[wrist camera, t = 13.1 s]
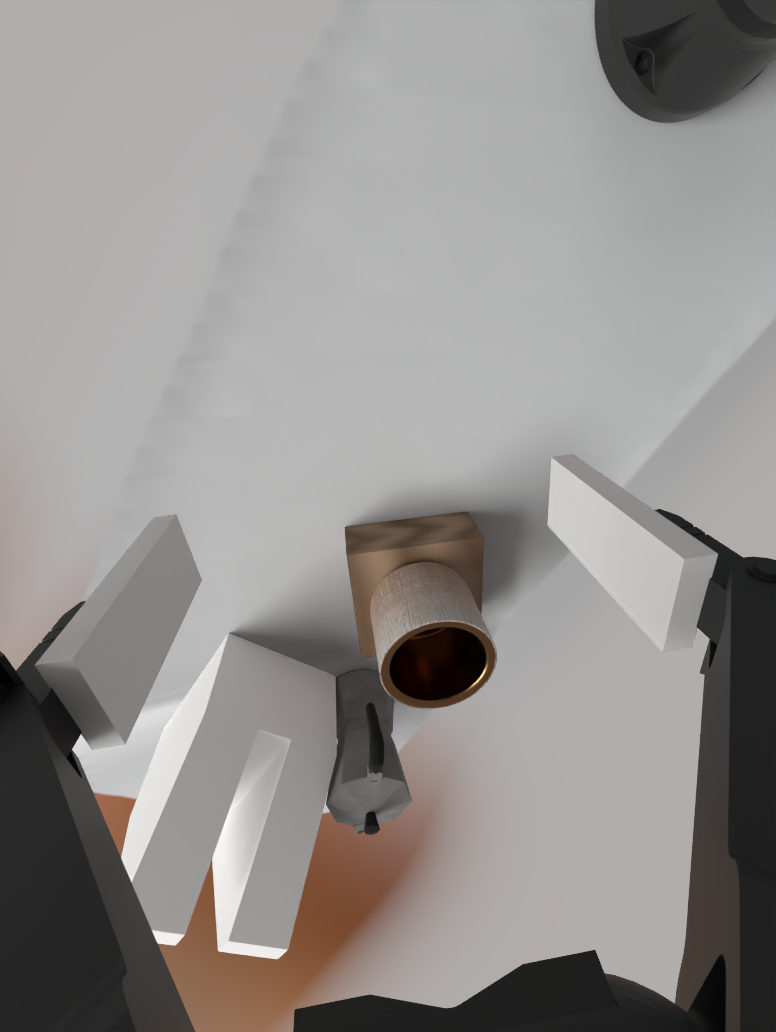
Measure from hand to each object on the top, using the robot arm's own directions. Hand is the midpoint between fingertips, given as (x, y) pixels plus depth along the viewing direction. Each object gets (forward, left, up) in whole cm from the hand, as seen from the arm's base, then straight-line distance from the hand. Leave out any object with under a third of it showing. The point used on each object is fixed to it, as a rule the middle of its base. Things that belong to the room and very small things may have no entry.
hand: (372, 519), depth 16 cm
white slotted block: (+18, +41, -30) cm, 54 cm away
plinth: (-5, +23, -30) cm, 38 cm away
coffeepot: (+3, +41, -30) cm, 51 cm away
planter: (-5, +23, -24) cm, 34 cm away
